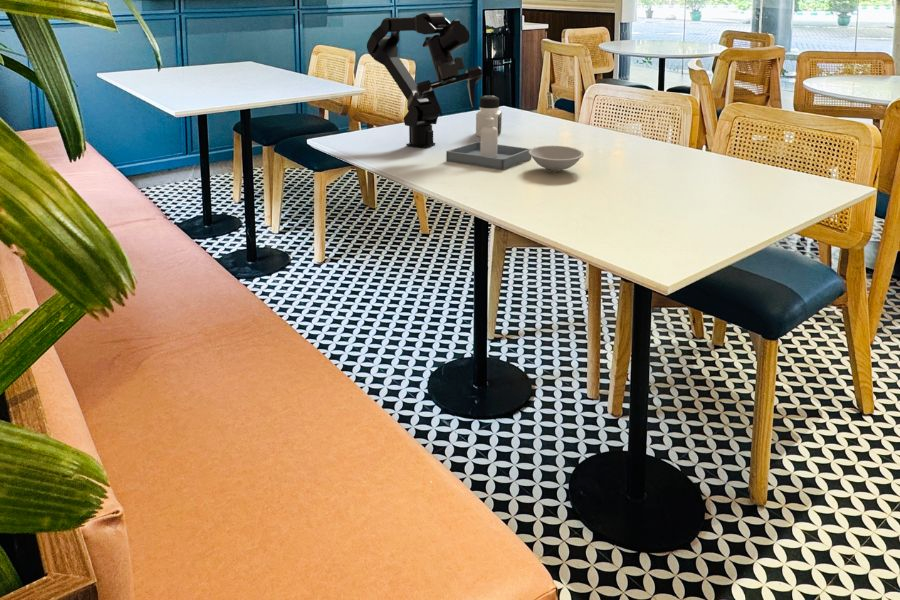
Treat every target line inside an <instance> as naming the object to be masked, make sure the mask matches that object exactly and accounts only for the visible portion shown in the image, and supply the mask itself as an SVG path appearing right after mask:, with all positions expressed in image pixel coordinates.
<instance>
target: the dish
mask: <svg viewBox="0 0 900 600" xmlns="http://www.w3.org/2000/svg"><path fill="white" fill-rule="evenodd" d="M529 149H530V150H529V154H530V155H531V156H532V158H531V159H533V160H534V161H535V163H536V164H537V165H539V166H540V167H541V168H544V169H547V170H551V172H554V173H556V172H557V173H558V172H559V171H563V170H567V169H570V168H572V167H573V166H575V165H576V164H577V163H578V162H579V161H580V159H582V158H583V157H584V156H585V153H584V151H582V150H580V149H579V148H576V147H570V146H564V145H540V146H535V147H533V148H529Z"/></svg>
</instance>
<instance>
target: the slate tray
mask: <svg viewBox="0 0 900 600" xmlns="http://www.w3.org/2000/svg"><path fill="white" fill-rule="evenodd" d="M530 149H531V148H527V147H519V146H513V145H505V144H499V143H498V147H497V156H496V157H494V158H493V157H486V156H480V141H475V142H471V143H467V144H465V145H461V146H459V147H456V148H453V149H449V150H446V155H445V157H446V158H445V159H446V160H445V162H448V163H455V164H462V165H467V166H475V167H481V168H487V169H494V170H501V171H504V170H507V169H509V168H512V167H514V166H516V165H519V164H522V163H524V162H527V161H529V160H532V159H533V158H532V156H531V155H530V154H529V150H530Z"/></svg>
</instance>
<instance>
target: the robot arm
mask: <svg viewBox="0 0 900 600" xmlns="http://www.w3.org/2000/svg"><path fill="white" fill-rule="evenodd" d="M407 31H408V32H411V31H413V32H416V33H417V34H421V35H433V36H426V37H425V39H424V41H423V43H422V47H423V48H427V47H428V51H429V53H430V57H431V61H432V64H433V68H434V71H435V74H436V78H437V80H436V81H432V82H431V80H430V79H428V80H423V81H421V82H418V83H417V82H416V81H415V79H414V78H413V77H412V75H411V73H410V72H409V70H408V68H407V67H406V66H405V65H404V63H403V62H402V60H401V59H400V57H399V47H398V44H399V43H400V32H407ZM389 33H391V35H387V34H389ZM469 41H470V31H469V30H468V28H467V27H466V26H465V25H464V24H462V23H461V21H460V19H453V20H452V21H451V22H450V20H449V19H447V18H446V17H445V15H444V13H443V12H442V11H441V12H440V11H436V12H435V11H433V12H431V11H430V12H422V13H420V14H416V15H415V16H414V17H413V16H412V17H396V16H394V17H386V18H384V19H383V20H382V21H381V22H380V25H379V26H378V27H377V28H376V29H375V30H374V31H372V33H371V35H370V36H369V39H368V41H367V43H366V50H367V52H368V54H369V55H370V57H371V58H372V59H373V60H374V61H375V62H377V63H379V64H381V65H383V66H384V68H386V70H387V72H388V73H389V75H390V76H391V77H392V79H393V81H394V82H395V83H396V85H397V86H398V88H399V90H400V91H401V93H402V94H403V96H404V97H405V99H406V100H407V108H406V109H407V113H406V114H405V115H404V117H403V123H404V126H406V127H408V130H409V131H408V134H409V135H408V136H409V137H408V138H409V139H408V140H409V141H408V143H406V144H405V145H406V146H407V147H412V148H421V149H425V148H429V147H431V146H435V145H436V142H434V130H433V125H436V124H437V122H438V118H439V115H440V117H442V116H443V115H444V114H443V112H442V109H441V106H440V104H439V101H438V98H437V97H436V93H435V89H439V88H442V87H445V86H450V85H453V84H457V83H460V82H463V81H467V83H466V86H467V90H468V95H469V102H470V104H471V108H474V106H475V88H476V84H478V83H479V80H481V79H482V78H483V75H484V73H483V70H482V68H481V66H479V65H477V66H474V67H470V68H467V69H466V70H465V73H461V74H460V72H459V71H460V70H461V71H462V70H464V69H465V64H464V60H463V57H462V56H458V57H455V58H453V57H454V56H453V54H452V52H454V51H455V50H457V49H459V48H460V47H461V48H462V46H464V45H466V44H467V43H468V42H469Z"/></svg>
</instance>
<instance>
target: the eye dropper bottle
mask: <svg viewBox="0 0 900 600" xmlns="http://www.w3.org/2000/svg"><path fill="white" fill-rule="evenodd" d="M493 126H494V118H492V117H491V113H489V114H488V117H487V118H486V119H485V127H484V128H483V129H482V130H481V136H480V141H479V142H480V156H486V157H493V158H494V157H496V156H497V147H498V144H499V142H498V141H499V139H498V138H499V136H498V130H497V128H495V127H493Z"/></svg>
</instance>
